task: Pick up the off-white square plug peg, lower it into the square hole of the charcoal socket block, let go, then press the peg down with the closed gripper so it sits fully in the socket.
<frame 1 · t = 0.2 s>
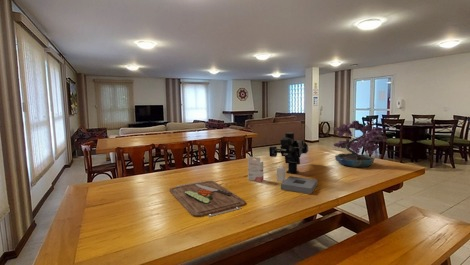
hand: (279, 155, 145), 17 cm above the table, tool horizontal, fingers open, 9 cm apart
ink cartridge box: (255, 180, 154), on the table
socket block: (299, 187, 140), on the table
chopping board: (204, 197, 129), on the table
bonsai tree: (357, 165, 185), on the table
plug peg: (281, 180, 152), on the table
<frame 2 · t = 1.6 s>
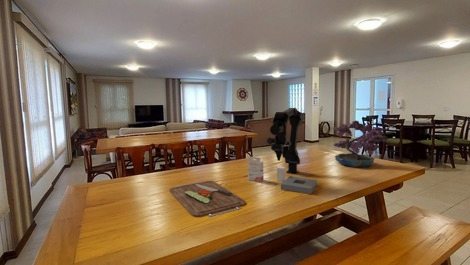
hand: (281, 159, 151), 13 cm above the table, tool pointing down, fingers open, 9 cm apart
nothing on the table moved.
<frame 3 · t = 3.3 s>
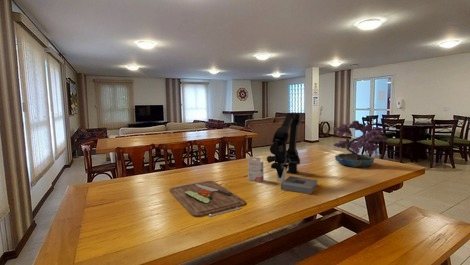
hand: (281, 177, 152), 2 cm above the table, tool pointing down, fingers closed on plug peg, 4 cm apart
plug peg: (281, 180, 152), on the table, touching gripper
everything else where it was.
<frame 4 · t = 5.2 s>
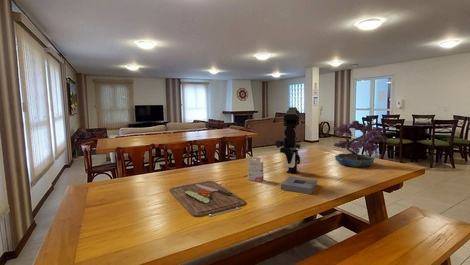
hand: (290, 162, 144), 12 cm above the table, tool pointing down, fingers closed on plug peg, 4 cm apart
plug peg: (290, 166, 144), point 10 cm above the table, touching gripper
everything else where it was.
when the fingers open (4 cm above the table, at t = 7.2 s): plug peg drops 2 cm, resting in socket block.
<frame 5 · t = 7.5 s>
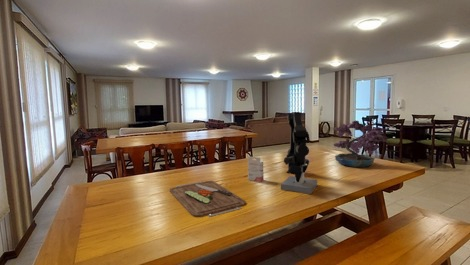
hand: (299, 180, 139), 4 cm above the table, tool pointing down, fingers open, 7 cm apart
plug peg: (299, 187, 140), resting in socket block
everything else where it was.
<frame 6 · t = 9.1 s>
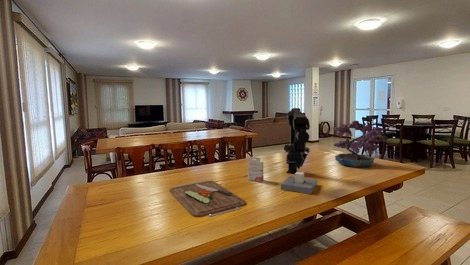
hand: (299, 167, 139), 11 cm above the table, tool pointing down, fingers open, 5 cm apart
nothing on the table moved.
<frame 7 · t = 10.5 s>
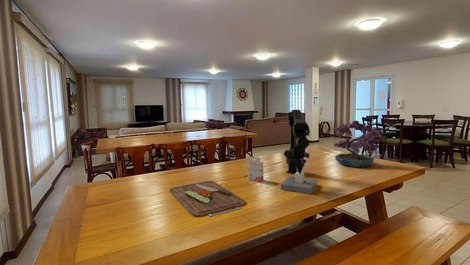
hand: (299, 173, 139), 8 cm above the table, tool pointing down, fingers closed, pressing on plug peg
plug peg: (299, 187, 140), resting in socket block, touching gripper
everything else where it was.
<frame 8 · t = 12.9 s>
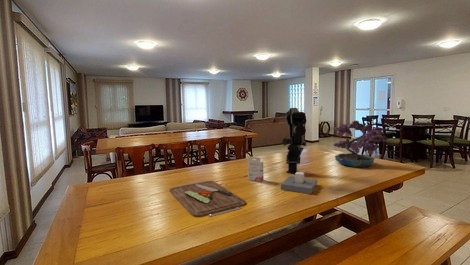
hand: (297, 160, 148), 13 cm above the table, tool pointing down, fingers closed
plug peg: (299, 187, 140), resting in socket block
everything else where it was.
at the end: plug peg 0.0 cm off-centre on the socket block, point 0.0 cm above the socket block's base; plug peg tilted 0°; the gripper is holding nothing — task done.
